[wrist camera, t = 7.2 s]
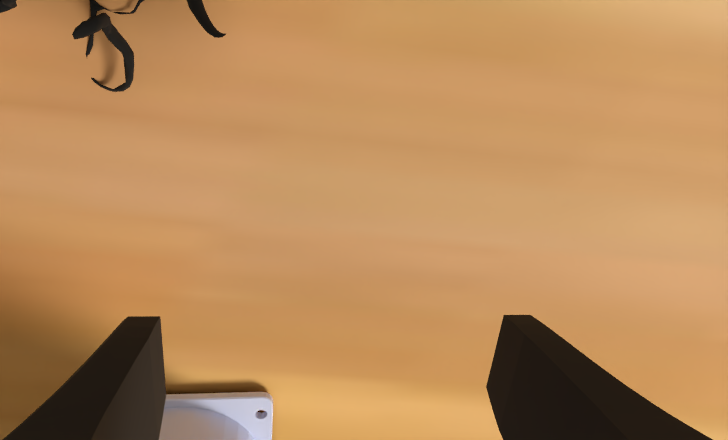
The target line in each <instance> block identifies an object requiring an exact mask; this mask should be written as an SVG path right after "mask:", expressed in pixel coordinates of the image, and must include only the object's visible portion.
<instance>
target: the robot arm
mask: <svg viewBox="0 0 728 440" xmlns="http://www.w3.org/2000/svg"><path fill="white" fill-rule="evenodd" d="M486 388H487V391H488V395H489V398H490V402H491V405H492V409H493V412H494V415H495V418H496V422H497V425H498V428H499V431H500V433H501V435H502V438H503V440H713V439H711V438H709V437H707V436H705V435H704V434H702V433H700V432H699V431H697V430H695V429H693V428H692V427H690V426H688V425H687V424H685V423H683V422H682V421H680V420H678V419H676V418H675V417H673V416H671V415H670V414H668V413H667V412H665V411H663V410H662V409H660V408H659V407H657V406H656V405H654V404H653V403H651V402H650V401H648V400H647V399H645V398H644V397H642V396H641V395H639V394H638V393H636V392H635V391H633V390H632V389H630V388H629V387H628V386H626V385H625V384H623V383H622V382H620V381H619V380H618V379H616V378H615V377H613V376H612V375H611V374H609V373H608V372H607V371H605V370H604V369H602V368H601V367H600V366H598V365H597V364H596V363H594V362H593V361H592V360H590V359H589V358H588V357H586V356H585V355H584V354H582V353H581V352H580V351H579V350H577V349H576V348H575V347H573V346H572V345H571V344H569V343H568V342H567V341H565V340H564V339H563V338H562V337H560V336H559V335H558V334H556V333H555V332H554V331H552V330H551V329H550V328H548V327H547V326H546V325H544V324H543V323H541V322H540V321H539V320H537V319H536V318H534V317H533V316H531V315H504V317H503V321H502V325H501V329H500V333H499V337H498V341H497V345H496V350H495V354H494V358H493V362H492V366H491V370H490V374H489V378H488V382H487V386H486ZM259 410H264V411H265V412H262V413H260V412H257V411H259ZM272 418H273V398H272V396H271V395H270V394H269V393H267V392H233V393H198V394H166V387H165V374H164V360H163V347H162V334H161V321H160V317H127V318H126V319H125V320H124V321H122V322H121V324H120V325H119V326H118V327H117V328H116V329H115V330H114V331H113V332H112V334H111V335H110V336H109V337H108V338H107V339H106V340H105V341H104V342H103V344H102V345H101V346H100V347H99V348H98V349H97V350H96V351H95V352H94V353H93V354H92V355H91V357H90V358H89V359H88V360H87V361H86V362H85V363H84V364H83V365H82V366H81V367H80V368H79V369H78V370H77V371H76V372H75V373H74V374H73V375H72V376H71V377H70V378H69V379H68V380H67V381H66V382H65V383H64V384H63V385H62V386H61V387H60V388H59V389H58V390H57V391H56V392H55V393H54V394H53V395H52V396H51V397H50V398H49V399H48V400H47V401H45V402H44V403H43V404H42V405H41V406H40V407H39V408H38V409H37V410H36V411H35V412H34V413H32V414H31V415H30V416H29V417H28V418H27V419H26V420H25V421H24V422H23V423H22V424H20V425H19V426H18V427H17V428H16V429H15V430H13V431H12V432H11V433H10V434H9V435H8V436H6V437H5V438H4V439H3V440H272Z"/></svg>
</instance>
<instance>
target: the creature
mask: <svg viewBox="0 0 728 440" xmlns="http://www.w3.org/2000/svg"><path fill="white" fill-rule="evenodd" d="M142 1H144V0H139V1H138V3H137V5H136V7H135V8H134V10H133V11H131V12H130V13H125V12H114V13H118V14H131V13H134V12H135V11H136V10H137V8H138V6H139V5H140V3H141V2H142ZM187 2H188V5H189V8H190V9H191V11H192V13H193V14H194V16H195V17H196V19H197V20H198V22H199V23H200V24H201V26H202V27H203V28H204V29H205V31H206V32H207V33H209V34H210V35H212V36H213V37H218V38H219V37H223V36H225V35H226V34H223V33H220V32H219V31H218V30H216V28H215V27H214V26H213V24H212V23H211V21H210V19H209V17H208V15H207V13H206V11H205V8H204V5H203V2H202V0H187ZM16 6H17V4H16V0H0V13H1V12H5V11H7V10H10V9H12V8H14V7H16ZM90 7H91V17H90V18H89V19H88V20H87V21H83V22H82V23H81V24H80V25H79V26H77V27H76V28H75V30H74V32H73V34H72V35H73V37H74V39H78V38H84V37H86V36H89V35H90V38H89V42H88V46H87V51H86V57H87V55H88V54H90V51H91V49H92V46H93V36H94V33H95V32H97V31H99V30H101V29H102V31H103V32H104V33H105V35H106V36H107V38H108V40H109V41H110V42H111V43H112V44H113V45H114V46H115V47H116V48H117V49H118V50H119V51H120V52H121V53H122V54H123V57H124V67H125V78H126V82H125V83H124V84H122V85H120V86H118V87H117V88H115V89H111V88H108V87H106V86H103V85H101V84H99V83H98V82H97V81H96V80H95V79H94V78H91V79H92V80H93V81H94V82H95V83H96V84H98V85H99V86H100V87H102V88H104V89H107V90H110V91H114V92H117V91H124V90H126V89H127V88H129V87H130V85H131V83H132V81H133V72H134V53H133V51H132V49H131V48H130V46H129V45H128V43H127V42H126V40H125V39H124V38H123V37H122V36H121V35H120V33H119V32H118V31H117V29H116V28H115V27H114V26H113V25H112V24H111V21H110V17H109V16H108V15H107V14H106V13H101V14H99V15H97V16H96V13H97V11H99V10H102V9H106V8H104V7H102V6H100V5H99V4H98V3H97V2H96V1H94V0H90ZM106 10H108V9H106ZM109 11H110V10H109Z"/></svg>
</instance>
